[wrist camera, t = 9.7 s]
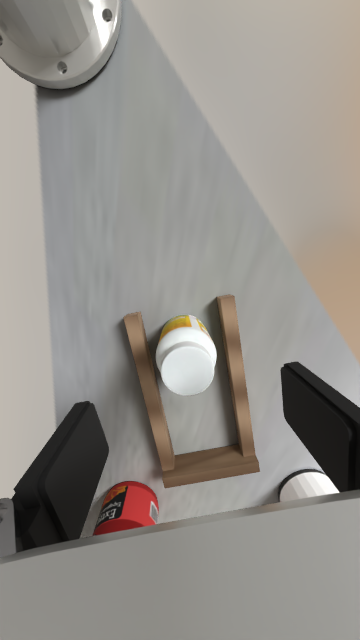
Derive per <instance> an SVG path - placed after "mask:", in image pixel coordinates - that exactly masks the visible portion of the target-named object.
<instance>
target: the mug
mask: <svg viewBox="0 0 360 640" xmlns="http://www.w3.org/2000/svg"><path fill="white" fill-rule="evenodd" d="M333 493H340V492H339V491H338V490H337V488H336V487H335V486H334V484H333V483H332V482H331V480H330V479H329V478H328V476H327V475H326V474H324V473H323V472H321V471H318V470H315V469H305V470H300V471H297V472H294V473H293V474H291V475H289V476H288V477H287V478H286V479H285V480H284V481H283V483H282V484H281V486H280V489H279V500H280V502H285V501H291V500H296V499H302V498H308V497H314V496H320V495H327V494H333Z"/></svg>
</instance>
